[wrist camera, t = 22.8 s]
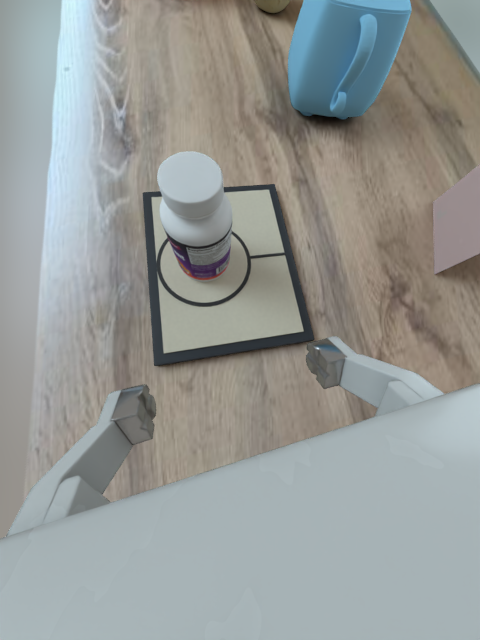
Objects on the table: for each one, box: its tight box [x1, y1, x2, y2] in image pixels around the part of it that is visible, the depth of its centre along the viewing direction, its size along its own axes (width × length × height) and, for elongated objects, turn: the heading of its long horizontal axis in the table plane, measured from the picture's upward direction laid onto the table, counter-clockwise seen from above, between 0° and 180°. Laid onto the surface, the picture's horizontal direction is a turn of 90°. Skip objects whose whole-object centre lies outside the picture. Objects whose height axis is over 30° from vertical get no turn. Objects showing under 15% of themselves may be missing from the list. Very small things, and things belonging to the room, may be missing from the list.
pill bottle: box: [157, 151, 232, 282], centre depth 17 cm, size 5×5×10 cm
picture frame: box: [143, 184, 314, 366], centre depth 22 cm, size 16×20×1 cm
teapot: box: [288, 0, 411, 119], centre depth 26 cm, size 12×18×12 cm
